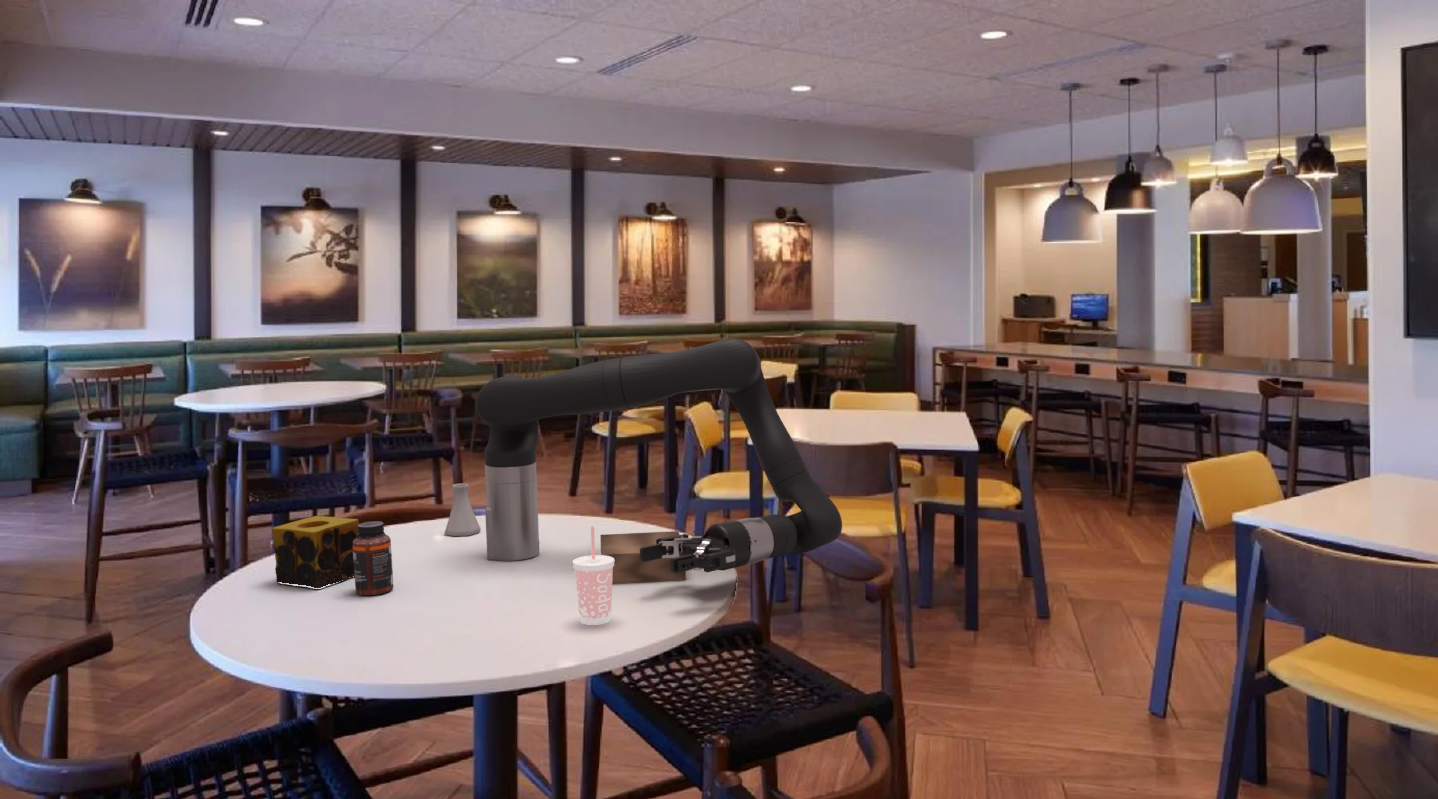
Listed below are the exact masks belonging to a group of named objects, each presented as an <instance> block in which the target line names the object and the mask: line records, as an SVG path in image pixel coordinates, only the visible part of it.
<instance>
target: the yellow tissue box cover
mask: <svg viewBox="0 0 1438 799" xmlns="http://www.w3.org/2000/svg"><path fill="white" fill-rule="evenodd" d="M359 524H360V522H359V519H358V518H346V517H335V516H323V515H315V516H310V517H307V518H302V519H299V520H295V521H291V522H288V523H285V524H281V525H277V526H274V527H272V529H271V530H272V533H271V534H272V543H273V544H272V545H273V549H274V552H275V553H274V557H275V558H274V559H275V569H274V571H275V575H276V576H275V577H276V580H275V581H277V582H282V583H289V584H298V585H306V586H311V587H314V588H321V587H323V586H326V585H328V584H333V583H336V582H339V581H342V580H345V581H348V580H349V579H348V578H349V577H353V576H355V575H354V559H353V540H354V539H355V538H356V537H357V536H358V534H359V533H358V525H359ZM353 578H354V577H353ZM277 582H276V583H277Z"/></svg>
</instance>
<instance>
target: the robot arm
mask: <svg viewBox="0 0 1438 799" xmlns="http://www.w3.org/2000/svg"><path fill="white" fill-rule="evenodd" d="M708 390H711V391H712V390H713V391H714V390H722V391H723V392H724V393H725V394H726V396H727V397H728V398H729V400H730V402H731V403H732V404H733V406H734V407H735V409H736V410H737V412H738V414H739V416H740V418H741V419H742V421H743V424H744V425H745V428H746V430H747V432H748V435H749V437H750V440H751V443H752V446H753V448H754V451H755V454H756V456H757V458H758V461H759V463H760V466H761V468H762V470H763V472H764V474H765V476H766V478H767V481H768V482H769V484H770V487H771V488H772V490H773V492H774V495H775V497H777V499H778V500H779V501H781V502H790V501H791V502H793V503H794V504H795V505H796V506H797V507H798V508H799V509H800V511H798V512H796V513H792V514H789V515H784V514H779V513H777V514H776V513H775V514H768V515H764V516H757V517H746V518H745V517H744V518H740V519H735V520H730V521H725V522H718V523H714V524H711V525H710V526H709V527H708V528H707V529H706V531H705V533H704V535H703V536H702V535H693V536H691V537H689V534H688V533H683V534H680V535H677V536H671V537H665V538H658V539H656V544H655V545H650V546H645V547H641V548H640V560H641V561H644V562H645V561H650V560H655V559H660V558H672V559H671V560H670V571H671V572H673V573H679V572H683V571H686V572H687V571H692V570H693V571H697V572H698V571H701V570H703V572H704V573H711V572H716V571H727V570H731V569H736V568H741V567H744V566H750V565H753V564H757V563H759V562H761V561H763V560H764V561H765V560H767V559H772V558H777V557H781V556H784V555H797V554H804V553H808V552H812V551H815V550H816V549H819V548H821V547H823V546H825V545H829V544H830V543H832V542H835V541H836V540H837V539H838V538H839V537H840V535H841V534H842V531H843V521H842V520H843V519H842V516H841V514H840V511H839V509H838V508H837V506H836V505H835V503H834V502H833V501H832V500H831V498H830V497H829V496H828V495H827V493H826V492H825V491H824V490H823V488H821V486H820V485H819V484H818V483H817V482H816V481H815V480H814V479H813V477H812V476H811V474H810V472H809V469H808V468H807V465H806V463H805V462H804V459H803V457H802V455H801V453H800V451H799V449H798V447H797V445H796V443H795V442H794V440H793V438H792V437H791V435H790V433H789V431H788V430H787V428H786V426H785V423H784V422H783V421H782V419H781V417H780V415H779V414H778V412H777V409H776V407H775V404H774V403H773V400H772V397H771V395H770V392H769V390H768V386H767V382H766V380H765V376H764V373H763V370H762V362H761V359H760V356H759V354H758V353H757V351H756V349H755V348H754V347H753V346H752V345H751V344H750V343H749V342H747V341H745V340H743V339H740V338H735V337H732V338H731V337H730V338H724V339H721V340H718V341H713V342H710V343H707V344H704V345H700V346H699V345H698V346H695V347H692V348H688V349H684V350H679V351H674V352H659V353H648V354H642V355H641V354H639V355H633V356H624V357H617V358H610V359H604V360H600V361H595V362H591V363H586V364H583V365H580V366H576V367H573V368H570V369H567V370H563V371H561V372H556V373H553V374H549V375H544V376H543V375H542V376H532V377H523V376H521V375H515V374H511V375H510V374H509V375H504V376H501V377H497V378H494V379H491V380H489V381H488V382H487V383H485V384H484V385H483V386H482V387H481V389H480V390H479V391H478V393H477V395H476V397H475V410H476V414H477V415H478V417H479V418H480V419H481V421H482V422H484V423H485V424H487V425H489V436H488V437H489V438H488V441H487V445H486V447H485V448H484V473H485V493H486V494H485V495H486V497H485V498H486V499H485V500H486V507H485V509H484V513H485V536H486V538H485V539H486V554H487V555H486V557H487V558H486V559H487V560H496V561H505V562H506V561H521V560H527V559H530V558H534V557H536V556H539V555H540V532H539V508H538V506H539V505H538V504H539V503H538V479H537V478H538V477H537V474H538V473H537V449H538V446H539V445H538V444H539V420H542V419H547V418H550V417H557V416H570V415H585V414H599V413H606V412H616V411H622V410H627V409H633V408H639V407H643V406H646V405H649V404H653V403H655V402H658V401H661V400H665V399H666V398H669V397H673V396H675V395H678V394H682V393H687V392H688V393H689V392H698V391H708ZM666 546H668V549H667V548H666ZM680 551H681V552H682V555H683V556H681V555H679V552H680Z"/></svg>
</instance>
